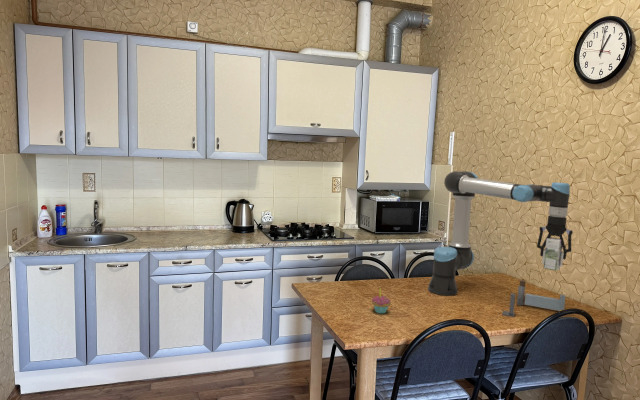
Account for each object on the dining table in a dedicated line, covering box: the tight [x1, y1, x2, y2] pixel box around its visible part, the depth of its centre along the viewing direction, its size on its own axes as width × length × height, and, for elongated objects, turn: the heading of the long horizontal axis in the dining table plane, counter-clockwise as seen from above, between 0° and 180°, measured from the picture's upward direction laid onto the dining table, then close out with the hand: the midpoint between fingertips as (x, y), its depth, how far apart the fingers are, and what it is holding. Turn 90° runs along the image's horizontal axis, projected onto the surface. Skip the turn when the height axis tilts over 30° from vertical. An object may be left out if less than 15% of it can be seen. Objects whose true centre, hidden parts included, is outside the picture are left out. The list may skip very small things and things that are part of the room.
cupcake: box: [371, 287, 391, 314], centre depth 195 cm, size 9×8×12 cm
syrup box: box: [543, 236, 563, 271], centre depth 200 cm, size 6×6×14 cm
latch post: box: [501, 292, 516, 318], centre depth 199 cm, size 5×5×10 cm
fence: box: [519, 279, 526, 288], centre depth 222 cm, size 3×13×9 cm, turn 153°
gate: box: [516, 285, 566, 312], centre depth 210 cm, size 20×3×9 cm, turn 63°
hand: (551, 264), depth 200 cm, fingers closed on syrup box, 7 cm apart
